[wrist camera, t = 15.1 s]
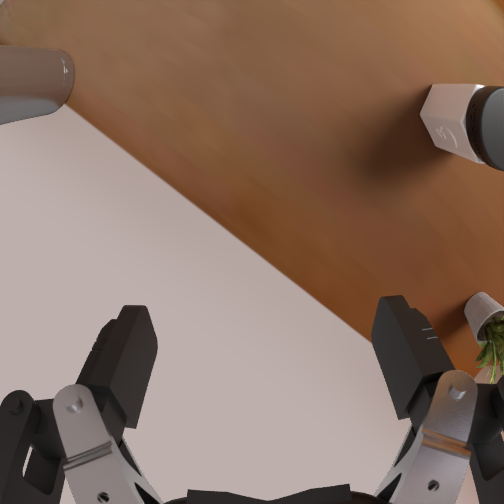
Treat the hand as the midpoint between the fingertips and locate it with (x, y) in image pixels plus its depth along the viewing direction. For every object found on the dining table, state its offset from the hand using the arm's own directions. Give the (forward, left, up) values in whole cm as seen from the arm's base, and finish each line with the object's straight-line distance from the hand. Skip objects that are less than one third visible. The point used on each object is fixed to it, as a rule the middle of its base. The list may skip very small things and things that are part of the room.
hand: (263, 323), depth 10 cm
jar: (+22, +7, -27) cm, 36 cm away
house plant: (+34, -23, -27) cm, 50 cm away
